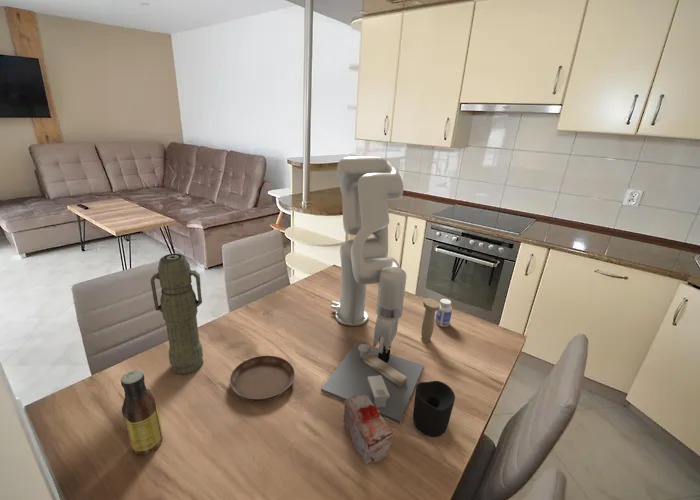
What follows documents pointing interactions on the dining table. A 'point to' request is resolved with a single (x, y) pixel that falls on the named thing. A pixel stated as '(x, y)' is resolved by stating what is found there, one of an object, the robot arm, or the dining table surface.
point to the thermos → (179, 312)
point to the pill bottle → (444, 313)
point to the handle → (429, 318)
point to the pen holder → (432, 407)
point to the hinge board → (360, 384)
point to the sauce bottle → (140, 414)
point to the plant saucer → (262, 378)
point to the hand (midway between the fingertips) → (383, 359)
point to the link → (385, 369)
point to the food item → (367, 428)
